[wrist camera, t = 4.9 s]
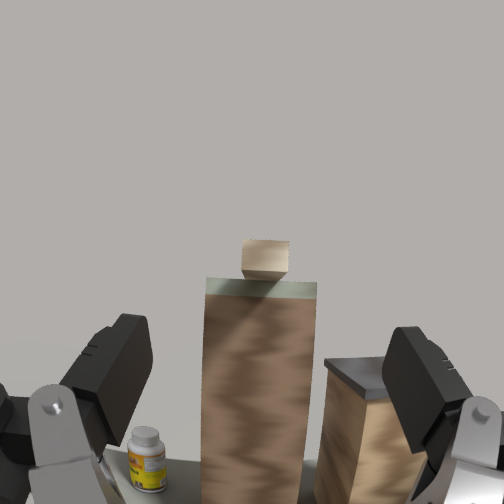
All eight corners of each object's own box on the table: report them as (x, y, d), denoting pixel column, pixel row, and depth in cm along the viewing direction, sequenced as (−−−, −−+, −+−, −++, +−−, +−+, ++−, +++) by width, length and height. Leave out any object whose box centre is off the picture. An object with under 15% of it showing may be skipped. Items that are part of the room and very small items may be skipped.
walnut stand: (281, 491, 36) (296, 289, 42) (289, 547, 22) (316, 282, 28) (215, 488, 36) (222, 286, 42) (202, 543, 23) (206, 277, 28)
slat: (270, 288, 42) (271, 273, 42) (288, 271, 20) (289, 241, 20) (248, 287, 42) (249, 272, 42) (241, 269, 20) (243, 239, 20)
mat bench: (374, 481, 36) (395, 355, 40) (415, 538, 20) (461, 377, 23) (309, 489, 37) (324, 358, 40) (330, 556, 20) (365, 389, 24)
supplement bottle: (128, 477, 36) (123, 424, 37) (161, 475, 38) (158, 423, 40) (136, 495, 31) (130, 439, 33) (172, 492, 34) (169, 438, 35)
